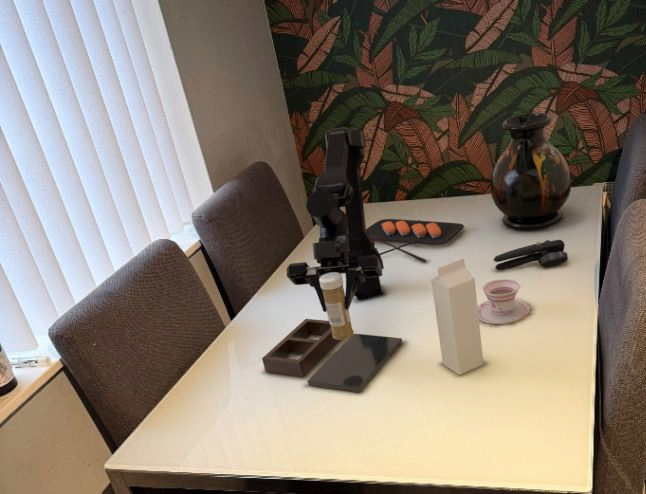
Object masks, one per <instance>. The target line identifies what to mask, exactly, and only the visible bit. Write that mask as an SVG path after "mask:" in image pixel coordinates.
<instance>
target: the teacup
mask: <svg viewBox="0 0 646 494" xmlns="http://www.w3.org/2000/svg"><path fill="white" fill-rule="evenodd" d="M520 289H521V284H520V283H519V282H518V281H517V280H513V279H507V278H500V279H493V280H490V281H487V282H486V283H484V284H483V285H482V291H483V293H484V296H485V297H486V299H487V300H488V301H485V302H484V303H482V304H480V305H479V306H478V316H479V322H483V323H486V324H490V325H491V324H492V325H504V324H511V323H515V322H517V321H520V320H522V319H524V318H525V317H527V316H528V315H529V314H530V311H531V307H530V305H529V303H528V302H526V301H525V300H523V299H519V298H516V296H517V293H518V292H519V291H520Z"/></svg>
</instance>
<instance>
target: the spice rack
mask: <svg viewBox="0 0 646 494" xmlns="http://www.w3.org/2000/svg"><path fill="white" fill-rule="evenodd" d="M310 336H319V337H320V338H318V339H314V338H313V339H312V338H309V337H310ZM340 341H341V340H336V339H334V338H333V337H332V330H331V326H330V323H329V320H325V319H313V318H305V319H304V320H302V321H301V322H300V323H299V324H298V325H297V326H296V327H295V328H294V329H293V330H291V332H289V333H288V334H287V335H286V336H284V338H283V339H282V340H280V341H279V342H278V343H277V344H276V345H275V346H274V347H273V348H271V349H270V350H269V351H268V352H267V353H266V354H265V355H263V356H262V358H261V360H262V364H263V367H264V371H265V373H268V374H269V373H270V374H276V375H284V376H292V377H298V378H304V377H305V376H306V375H307V374H308V373H309V372H310V371H311V370H312V369H313V368H314V367H315V366H316V365H317V364H318V363H319V362H320V361H321V360H322V359H323V358H324V357H325V356H326V355H327V354H328V353H329V352H330V351H331V350H332V349H333V348H334V347H335V346H336V345H337V344H338V343H339V342H340ZM291 354H296V355H301V356H300V357H298V358H297V359H295V358H288V357H289V356H290V355H291Z"/></svg>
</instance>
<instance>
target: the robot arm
mask: <svg viewBox="0 0 646 494" xmlns="http://www.w3.org/2000/svg"><path fill="white" fill-rule="evenodd" d="M324 137H325V146H326V153H325V161H324V168H323V171H322V172H321V173H320V174H319V175H317V177H316V180H315V184H314V187H313V188H312V191H311V194H310V195H309V196H308V198H307V199H306V203H305V207H306V210H307V213H308V214H309V215H310V217H311V218H312V220H313V221H314V223H315V224H316V225H317V226H318V227H319V238H318V242H312V252H313V260H316V263H317V264H320V265H319V266H309V264H308V262H306V261H302V262H294V263H289V264H288V265H287V267H286V277H287V278H288V279H289V281H290V282H291V283H292V284H293V285H296V286H302V285H309V286H310V287H311V288H314V291H315V293H316V295H317V298H318V300H319V304H320V306H321V309H322V311H323V312H324V313H327V310H326V306H325V300H324V295H323V291H322V288H321V286H320V281H319V279H320V277H321V276H322V275H324V274H327V273H331V272H337V273H340V274H341V275H342V274H345V275H344V276H345V291H344V293H345V308H346V310H350V307H351V304H352V302H353V300H354V297H356V299H357V301H364V300H367V299H371V298H375V297H379V296H383V295H384V291H383V289H382V285H381V279H380V277H382V276H383V270H385V269H384V262H383V259H382V255H380V254H379V253H380V252H379V250H378V248H377V247H375V240H373V239H372V238H371V237H370V235H369V234H368V233H367V231H366V229H367V225H366V218H365V217H366V216H365V208H364V197H363V189H362V181H361V173H360V168H361V165H362V164H363V161H364V159H365V149H366V148H367V141H366V135H365V132H363V131H362V130H361V129H359V128H358V127H357V128H350V127H346V126H343V127H337V128H330V129H329V130H327V131H326V133H325V134H324ZM341 208H344V210H342V209H341Z"/></svg>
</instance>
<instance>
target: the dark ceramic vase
mask: <svg viewBox="0 0 646 494" xmlns="http://www.w3.org/2000/svg"><path fill="white" fill-rule="evenodd" d="M552 122H553V117H552V116H551V115H550V114H548V113H542V112H530V113H523V114H517V115H514V116H511V117H509V118H506V119H504V121H503V122H502V124H501V127H502V129H503V130H506V131H508V132H509V135H510V142H509V143H508V145H507V147H506V148H505V149H504V151H503V152H502V153H501V155H499V157H498V159H497V160H496V162H495V165H494V167H493V171H492V174H491V178H490V179H491V180H490V193H491V198H492V200H493V203H494V204H495V207H497V209H498V210H499V211H500V212H501V213H502V214H504V215H503V216H502V223H503V224H504V226H506V227H507V228H509V229H511V230H515V231H519V232H534V231H540V230H541V231H542V230H544V229H548V228H551V227H553V226H555V225H556V224H558V223H560V221H561V220H562V219H563V215H564V212H563V210H562V209H561V208H562V207H563V206H564V205H565V204H566V202H567V201H568V200H569V197H570V194H571V191H572V175H571V171H570V167H569V165H568V162H567V160H566V158H565V157H564V155H563V154H562V153H561V151H560V150H559V149H558V148H557V147H555V146H554V144H552V142H550V141H549V140H548V138H547V137H546V135H545V130H546V127H547V126H549V125H550V124H551V123H552Z"/></svg>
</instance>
